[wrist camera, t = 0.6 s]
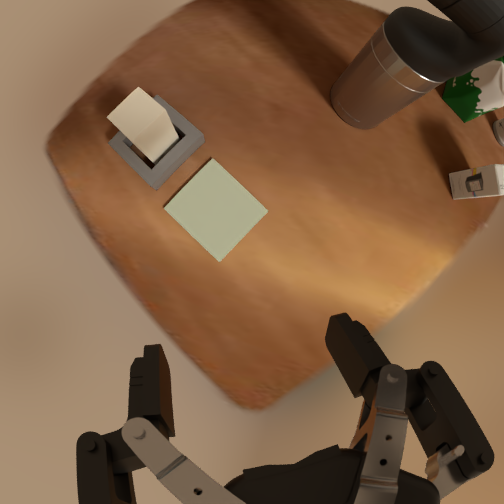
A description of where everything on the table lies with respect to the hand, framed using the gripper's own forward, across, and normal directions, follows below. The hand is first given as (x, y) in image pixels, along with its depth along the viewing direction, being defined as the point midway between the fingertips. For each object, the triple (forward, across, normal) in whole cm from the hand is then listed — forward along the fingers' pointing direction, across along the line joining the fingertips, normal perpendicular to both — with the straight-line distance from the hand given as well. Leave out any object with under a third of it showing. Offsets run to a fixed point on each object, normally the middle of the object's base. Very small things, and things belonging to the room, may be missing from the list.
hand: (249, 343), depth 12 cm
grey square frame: (+30, +6, -5) cm, 31 cm away
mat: (+25, -1, +3) cm, 25 cm away
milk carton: (+30, -50, -16) cm, 60 cm away
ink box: (+22, -45, 0) cm, 50 cm away
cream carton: (+30, +6, -5) cm, 31 cm away
